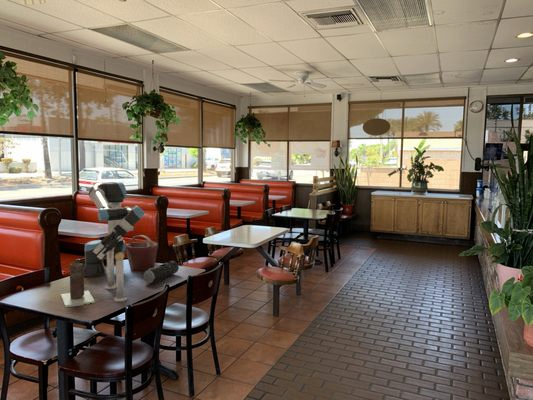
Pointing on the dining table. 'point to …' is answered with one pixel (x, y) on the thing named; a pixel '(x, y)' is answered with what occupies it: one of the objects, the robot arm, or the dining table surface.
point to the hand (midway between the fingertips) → (96, 255)
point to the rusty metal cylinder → (76, 280)
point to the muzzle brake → (160, 272)
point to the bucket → (141, 254)
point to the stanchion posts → (119, 275)
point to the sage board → (77, 299)
